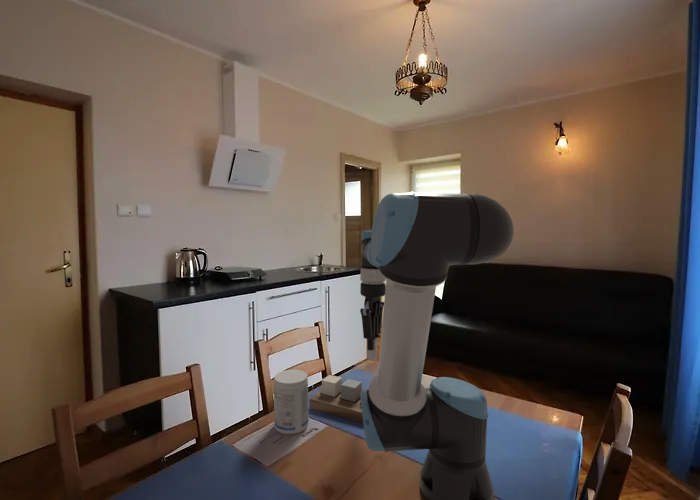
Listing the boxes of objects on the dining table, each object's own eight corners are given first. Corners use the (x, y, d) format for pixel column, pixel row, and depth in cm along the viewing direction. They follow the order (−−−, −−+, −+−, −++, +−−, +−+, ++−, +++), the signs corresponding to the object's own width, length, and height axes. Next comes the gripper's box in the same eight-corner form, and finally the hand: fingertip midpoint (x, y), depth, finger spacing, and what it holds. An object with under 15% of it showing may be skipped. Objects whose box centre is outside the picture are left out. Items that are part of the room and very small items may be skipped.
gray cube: (354, 402, 111) (355, 388, 110) (341, 398, 113) (341, 384, 112) (361, 395, 115) (361, 382, 115) (347, 392, 117) (348, 379, 117)
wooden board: (375, 426, 103) (375, 415, 103) (309, 408, 113) (309, 398, 112) (391, 404, 115) (392, 395, 115) (331, 389, 125) (331, 381, 125)
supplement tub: (297, 413, 109) (297, 366, 108) (315, 427, 102) (315, 376, 101) (267, 424, 103) (267, 374, 102) (284, 440, 96) (284, 386, 95)
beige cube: (334, 397, 114) (334, 383, 113) (321, 393, 116) (321, 380, 116) (341, 390, 118) (342, 377, 118) (329, 387, 120) (329, 374, 120)
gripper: (376, 286, 101) (374, 369, 102) (392, 280, 112) (391, 354, 114) (352, 284, 104) (351, 364, 106) (370, 278, 116) (369, 350, 117)
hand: (371, 359), depth 110 cm, fingers closed
